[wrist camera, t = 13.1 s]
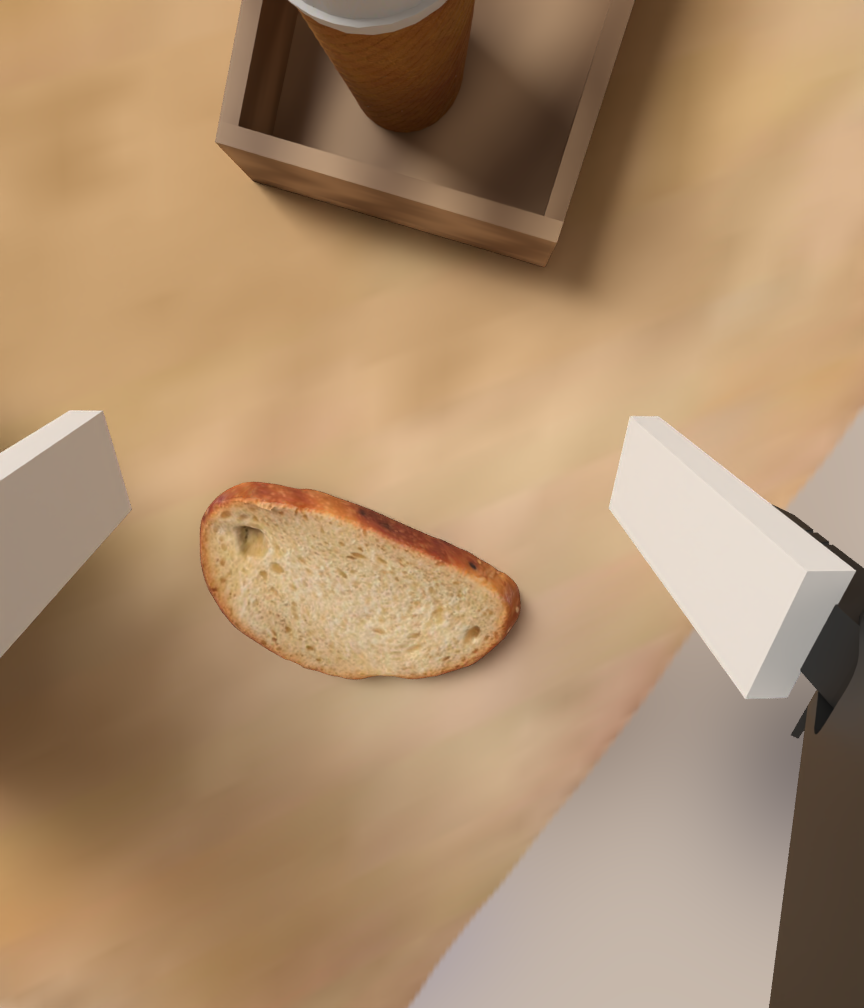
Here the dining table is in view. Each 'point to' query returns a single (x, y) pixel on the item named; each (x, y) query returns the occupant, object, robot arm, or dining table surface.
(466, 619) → the bread slice
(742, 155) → the dining table surface
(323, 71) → the open wooden box
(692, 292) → the dining table surface
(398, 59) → the disposable coffee cup
